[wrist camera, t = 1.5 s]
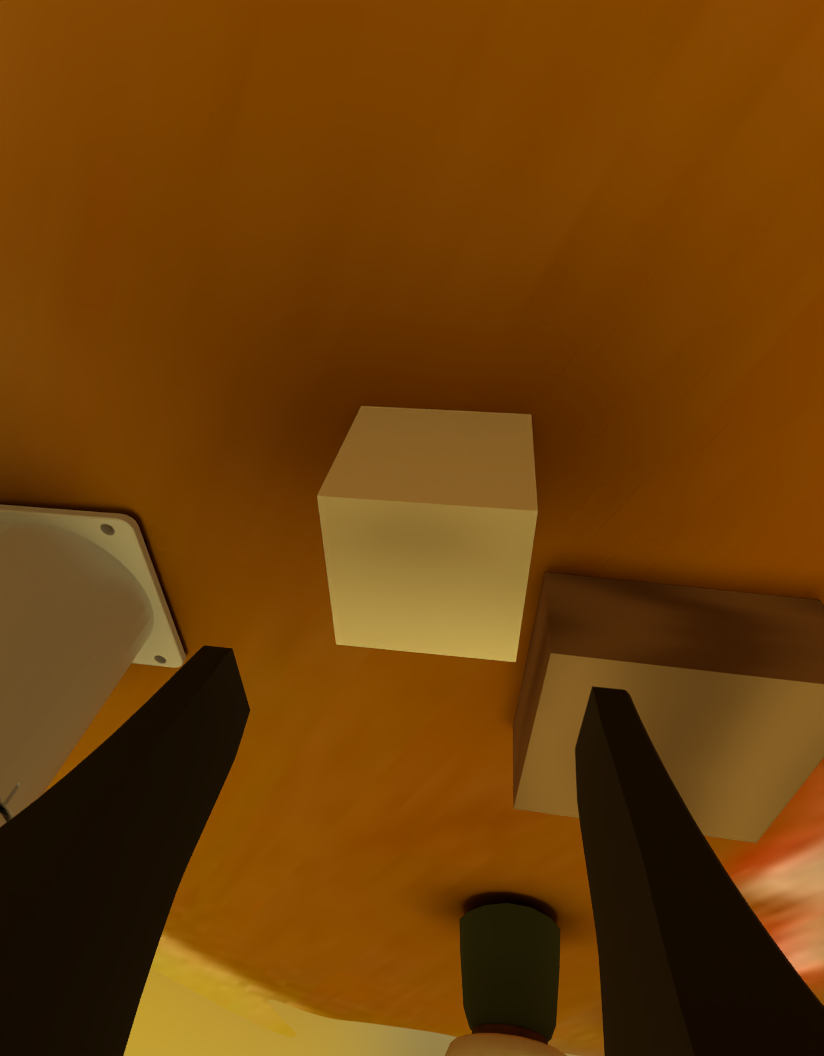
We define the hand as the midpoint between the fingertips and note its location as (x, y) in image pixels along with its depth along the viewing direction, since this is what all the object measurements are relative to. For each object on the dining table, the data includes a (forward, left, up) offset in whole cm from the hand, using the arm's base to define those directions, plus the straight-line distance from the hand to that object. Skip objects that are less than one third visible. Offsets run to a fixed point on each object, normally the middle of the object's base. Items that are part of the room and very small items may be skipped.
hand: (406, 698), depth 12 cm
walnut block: (+8, -8, -9) cm, 14 cm away
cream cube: (0, 0, -8) cm, 8 cm away
